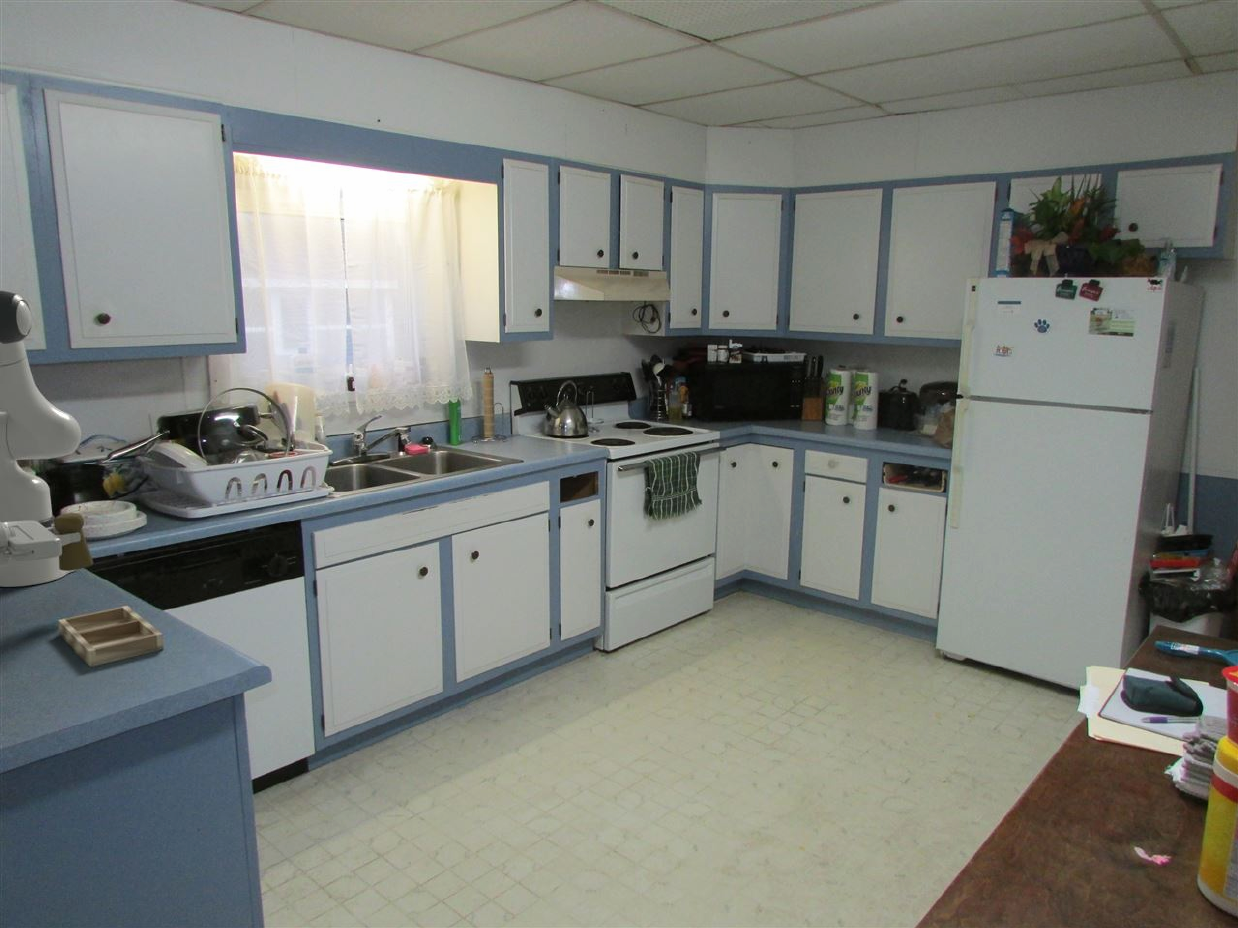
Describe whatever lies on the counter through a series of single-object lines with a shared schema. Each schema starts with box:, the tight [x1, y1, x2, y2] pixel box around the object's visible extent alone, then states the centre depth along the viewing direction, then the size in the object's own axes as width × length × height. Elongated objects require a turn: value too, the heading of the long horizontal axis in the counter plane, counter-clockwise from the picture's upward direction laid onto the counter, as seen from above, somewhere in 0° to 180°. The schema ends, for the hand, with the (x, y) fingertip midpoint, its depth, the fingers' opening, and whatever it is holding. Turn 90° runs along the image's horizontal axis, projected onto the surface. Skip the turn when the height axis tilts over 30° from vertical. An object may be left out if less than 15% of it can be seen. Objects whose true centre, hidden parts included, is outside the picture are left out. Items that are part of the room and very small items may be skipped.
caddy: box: [57, 605, 164, 668], centre depth 161 cm, size 21×12×3 cm, turn 46°
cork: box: [54, 512, 94, 571], centre depth 174 cm, size 6×6×11 cm
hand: (76, 533), depth 174 cm, fingers closed on cork, 4 cm apart
